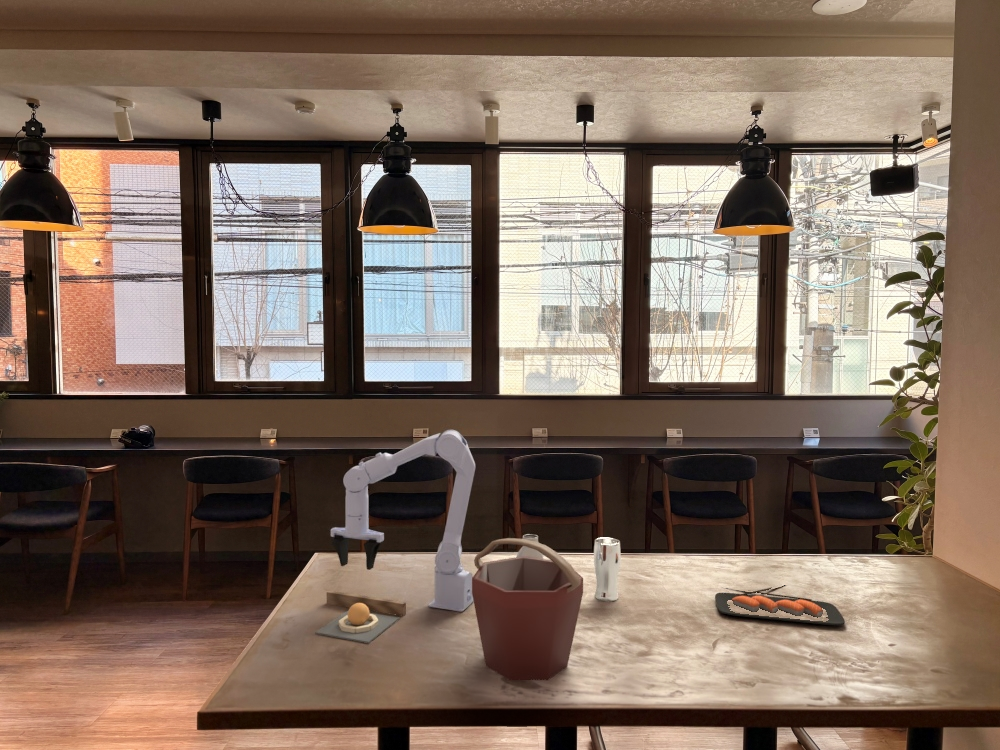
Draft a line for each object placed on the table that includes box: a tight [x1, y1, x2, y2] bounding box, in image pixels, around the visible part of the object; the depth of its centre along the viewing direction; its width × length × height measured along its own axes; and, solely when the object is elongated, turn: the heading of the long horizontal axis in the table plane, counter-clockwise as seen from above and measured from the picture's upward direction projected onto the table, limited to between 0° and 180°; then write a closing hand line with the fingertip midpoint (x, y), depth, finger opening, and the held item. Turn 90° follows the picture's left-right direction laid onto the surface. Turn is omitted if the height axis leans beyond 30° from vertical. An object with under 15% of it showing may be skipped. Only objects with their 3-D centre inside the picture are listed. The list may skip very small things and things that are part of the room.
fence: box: [326, 590, 407, 617], centre depth 163 cm, size 22×1×3 cm, turn 70°
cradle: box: [315, 609, 401, 644], centre depth 153 cm, size 14×14×1 cm
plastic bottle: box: [516, 533, 544, 559], centre depth 158 cm, size 6×7×20 cm
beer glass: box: [593, 537, 621, 602], centre depth 172 cm, size 7×7×15 cm
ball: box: [347, 603, 371, 626], centre depth 153 cm, size 5×5×5 cm
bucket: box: [472, 537, 584, 681], centre depth 136 cm, size 24×22×25 cm
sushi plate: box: [714, 586, 846, 626], centre depth 171 cm, size 29×30×4 cm
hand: (357, 566), depth 167 cm, fingers open, 7 cm apart
